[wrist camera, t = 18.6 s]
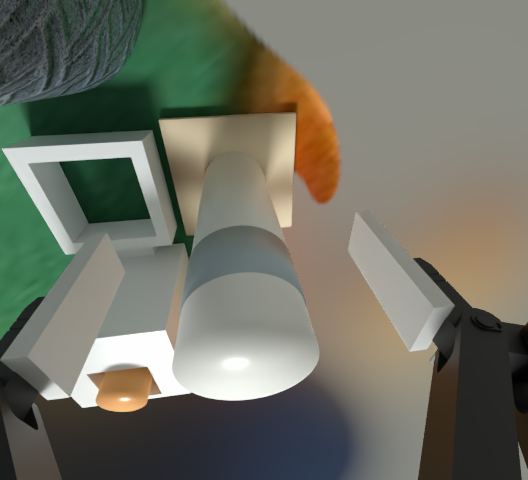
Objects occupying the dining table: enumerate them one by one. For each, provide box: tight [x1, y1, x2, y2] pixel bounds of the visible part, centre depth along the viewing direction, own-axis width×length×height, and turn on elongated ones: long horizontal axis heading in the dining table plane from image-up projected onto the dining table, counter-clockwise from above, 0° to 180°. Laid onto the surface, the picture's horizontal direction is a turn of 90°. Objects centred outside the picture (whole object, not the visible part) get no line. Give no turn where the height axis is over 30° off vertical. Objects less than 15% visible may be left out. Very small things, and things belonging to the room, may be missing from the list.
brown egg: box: [95, 367, 153, 412], centre depth 22 cm, size 4×4×6 cm
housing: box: [2, 130, 191, 408], centre depth 21 cm, size 20×9×10 cm, turn 1°
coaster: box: [158, 112, 296, 236], centre depth 22 cm, size 10×10×1 cm
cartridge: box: [172, 151, 319, 400], centre depth 15 cm, size 5×5×16 cm
